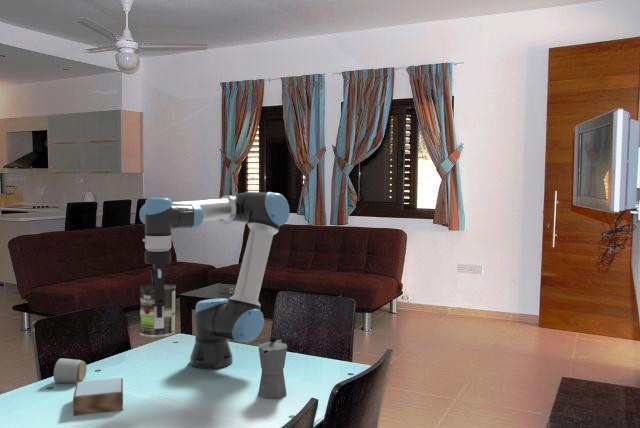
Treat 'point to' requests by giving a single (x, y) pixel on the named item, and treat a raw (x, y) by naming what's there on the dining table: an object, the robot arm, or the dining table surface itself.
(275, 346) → the coffeepot
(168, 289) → the coffee can
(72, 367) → the ceramic mug
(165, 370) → the dining table surface
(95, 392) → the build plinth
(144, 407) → the dining table surface
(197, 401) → the dining table surface
